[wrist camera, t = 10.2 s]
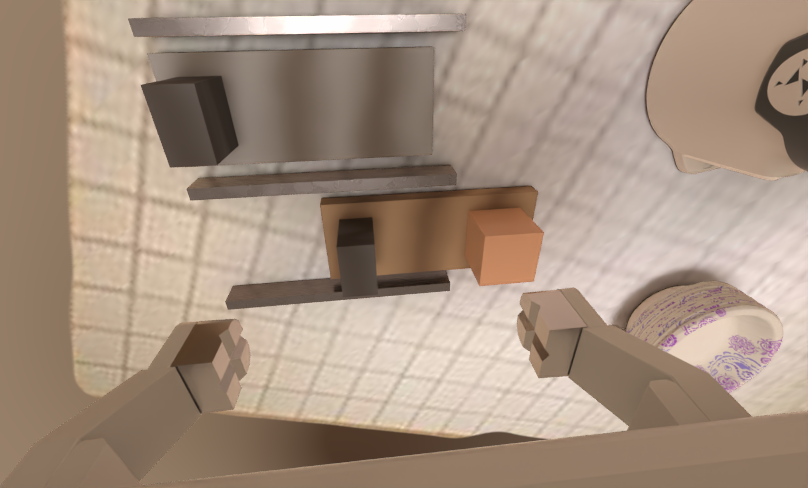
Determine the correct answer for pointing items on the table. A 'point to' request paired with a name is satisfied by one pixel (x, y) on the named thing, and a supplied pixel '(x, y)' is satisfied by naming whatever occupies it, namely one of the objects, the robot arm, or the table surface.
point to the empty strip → (292, 104)
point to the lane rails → (314, 180)
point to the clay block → (502, 246)
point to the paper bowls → (710, 330)
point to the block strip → (406, 232)
